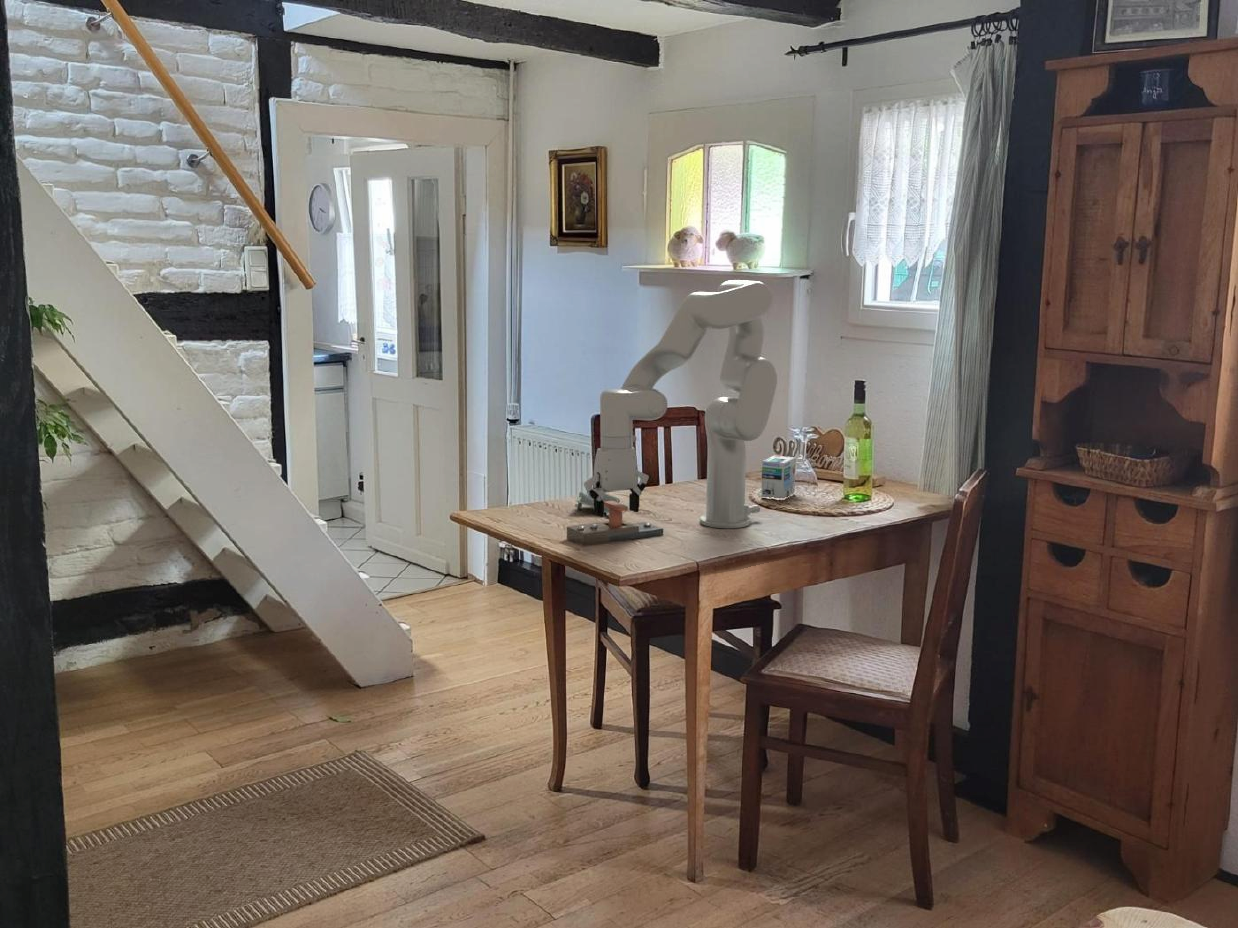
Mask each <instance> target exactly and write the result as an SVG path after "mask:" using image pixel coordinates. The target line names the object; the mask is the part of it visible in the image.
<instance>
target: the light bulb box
mask: <svg viewBox="0 0 1238 928" xmlns="http://www.w3.org/2000/svg"><path fill="white" fill-rule="evenodd" d="M796 458H797V457H796V456H795V457H793V456H783V455H782V456H781V455H776V454H775V455H772V456H770V457H768V458H766V459H764V460H762V462H761V464H762V465H761V490H760V491H761V492H760V493H761V494H760V498H761V497H774V498H785V497H788V496H790V495H791V494H793V493H794V492H795V488H796V487H795V486H796V466H797V465H796V463H797V462H796V460H797V459H796Z"/></svg>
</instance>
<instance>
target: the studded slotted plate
mask: <svg viewBox="0 0 1238 928" xmlns="http://www.w3.org/2000/svg"><path fill="white" fill-rule="evenodd" d="M656 536H664V528H662V527H660V526H658V525H654V524H652V523H650V522H647V521H641V522H636V523H635V522H633V523H632V522H630V521H627V520H624V519H622V526H620V527H613V528H612V527H610V526H609V520H607V521H606V520H604V521H599V522H598V521H597V522H592V523H591V522H589V523H584V524H582V523H581V524H576V525H568V526H566V540H568V541H571V542H573V543H576V544H577V545H580V546H582V547H588V546H595V545H603V544H607V543H608V544H609V543H616V542H623V541H629V540H634V539H644V538H649V537H650V538H651V537H656Z"/></svg>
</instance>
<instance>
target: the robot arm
mask: <svg viewBox="0 0 1238 928" xmlns="http://www.w3.org/2000/svg"><path fill="white" fill-rule="evenodd" d="M773 302H774V296H773V292H772V290H771V288H770V287H769V286H768V285H767V284H765V283H764V282H761V281H757V280H756V281H755V280H740V279H737V280H736V279H734V280H727V281H725V282H723V283H721V284H720V285H719V286H718V288H717V290H716V292H706V291H697V292H692V293H689V294H688V295H687V296H686V297H685V298H684V299H683V301H682V303H681V304H680V306H679V307H678V309H677V310H676V312H675V314H674V315H673V317H672V319H671V321H670V323H669V325H668V327H667V328H666V330H665V331H664V333H663V335H662V337H661V338H660V340H659V342H657V344H656V345H655V346H654V347H652V348H651V349H650V350H649V351H648V352H647V353H646V354H645V355H644V356H642V358H640V359H639V360H638V361H637V363H635V365H634V366H633V368H632V369H631V370H630V372H629V373H628V375H627V377H626V379H625V380H624V382H623V384H622V386H621V388H620V389H618V388H614V389H612V388H611V389H606V390H604V391H602V392H601V394H600V398H599V402H600V403H599V407H600V411H599V412H600V413H599V414H600V415H599V416H600V417H599V419H600V424H599V425H600V430H599V431H600V448H599V447H598V448H597V449H596V454H595V457H594V458H595V459H594V465H593V466H594V467H593V476H591V477H590V478H589V479H588V480H586V481H584V482H583V486H584V488H585V491H586V493H588V494H589V495H590V496H591V497H592V499H594V508H593V512H594V516H596V517H598V518H604V517H605V512H604V501H602V498H603V497H604V495H605V494H607V493H612V492H620V491H627V490H629V491H630V493H629V497H628V499H629V500H628V501H629V503H628V504H629V509H628V510H629V511H630V512H631V511H632V512H634V513H639V511H640V509H639V508H640V496H641V495H642V493H643V491H644V490H645V489H646V487H647V485H646V484H648V483H647V482H648V481H649V475H648V474H646V473H644V472H641V471H639V467H638V466H639V465H638V458H637V452H636V449H635V447H634V442H637V439H638V438H637V436H636V435H634V434H633V425H634V424H633V420H634V421H635V420H637V421H638V420H640V421H641V420H642V421H654V420H658V419H660V418H662V417H663V416H664V415H665V414H666V412H667V409H668V406H669V405H668V404H669V403H668V400H667V397H666V395H665V394H664V393H662V392H661V391H660V390H658V389H655V388H654V387H655V386H656V384H657V383H658V382H659V380H661V378H662V377H663V376H665V375H667V374H668V373H669V372H671V371H673V370H676V369H678V368H681V367H682V366H684V365H686V364H687V363H688V362H690V361H691V359H692V358H693V357H694V354H695V352H696V351H697V349H698V347H699V345H700V343H701V342H702V340H703V338H704V337H705V335H706V333H707V331H708V330H709V329H710V330H723V329H729V330H728V332H729V334H728V339H727V345H726V349H725V353H724V356H723V361H722V365H721V368H720V375H719V381H720V384H721V386H722V387H723V388H724V389H725V390H726V391H729V392H731V393H732V392H733V393H735V394H738V398H735V397H730V396H729V397H728V396H722V397H721V396H720V397H717V398H715V399H714V400H712V401H711V402H709V404H708V405H707V407H706V408H705V412H704V427H705V434H706V442H707V462H706V465H707V466H706V502H705V503H706V508H705V509H706V510H705V511H706V512H705V514H703V515H701V516H700V518H699V523H700V524H702V525H704V526H707V527H709V528H716V529H738V528H739V529H740V528H743V527H748V526H749V525H751V518H750V517H749V515H750V514H758V513H759V512H761V511H760V510H761V509H760V506H759V505H758V504H755V505H750V506H749V504H747V503H745V502H746V501H745V500H746V474H747V473H746V472H747V471H746V467H747V466H746V465H747V449H746V444H745V442H752V441H755V440H757V439H758V438H760V437H761V436H762V434H764V431H765V430H766V427H767V425H768V422H769V418H770V415H771V409H772V406H773V403H774V399H775V395H776V389H777V383H778V375H777V370H776V368H775V366H774V364H773V363H772V362H771V361H770V360H769V359H767V358H764V357H761V354H762V350H763V344H764V339H765V330H764V325H763V322H762V319H761V317H763V316H765V315H766V314H767V313H768V312H769V311H770V310H771V308H772V305H773ZM639 479H640V480H639ZM594 488H595V489H594ZM593 489H594V490H595V491H594V490H593Z"/></svg>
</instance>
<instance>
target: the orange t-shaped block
mask: <svg viewBox="0 0 1238 928" xmlns="http://www.w3.org/2000/svg"><path fill="white" fill-rule="evenodd" d="M604 506H605V507H608V508H609V516H608V521H609V526H610V527H612V528H613V527H620V526H622V520H623V514H622V511H626V512H627V511H628V510H629V509H628V506H626V505H623V504H620V502H619V503H617V502H615V501H606V502H604Z"/></svg>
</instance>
